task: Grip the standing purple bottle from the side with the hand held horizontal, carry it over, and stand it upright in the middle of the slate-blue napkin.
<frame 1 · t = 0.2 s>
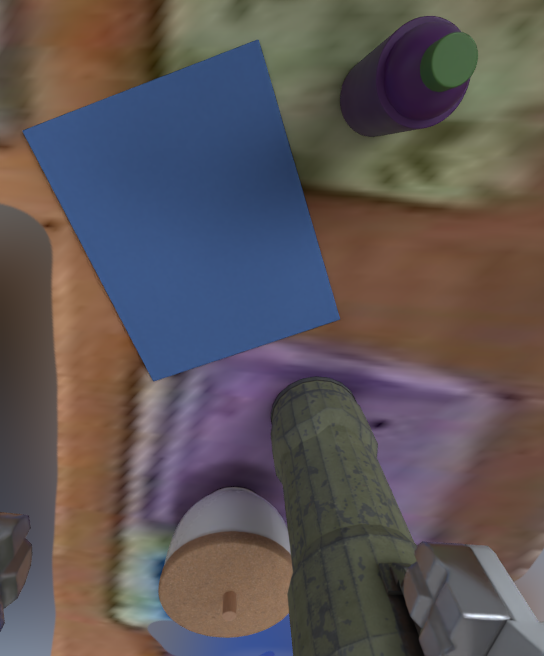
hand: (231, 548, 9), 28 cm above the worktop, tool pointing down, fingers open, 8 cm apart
thermos: (314, 412, 41), on the worktop
lidded bowl: (233, 510, 45), on the worktop
napkin: (198, 234, 33), on the worktop
purple bottle: (374, 97, 30), on the worktop
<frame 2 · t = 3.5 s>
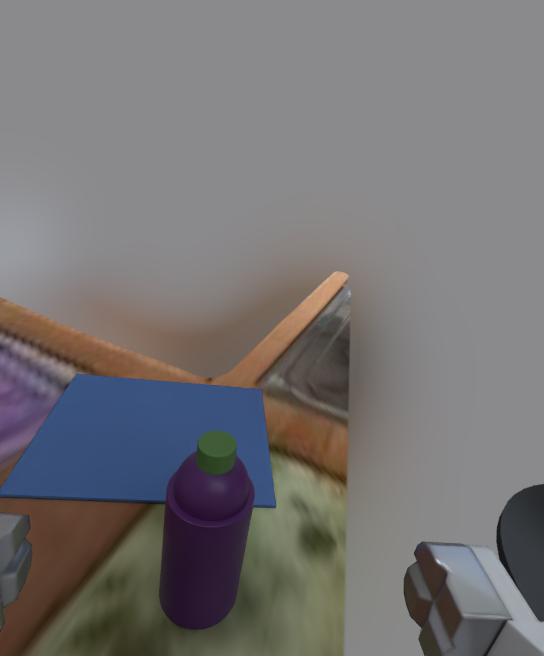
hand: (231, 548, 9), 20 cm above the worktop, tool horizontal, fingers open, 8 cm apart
napkin: (160, 431, 41), on the worktop
purple bottle: (198, 588, 28), on the worktop
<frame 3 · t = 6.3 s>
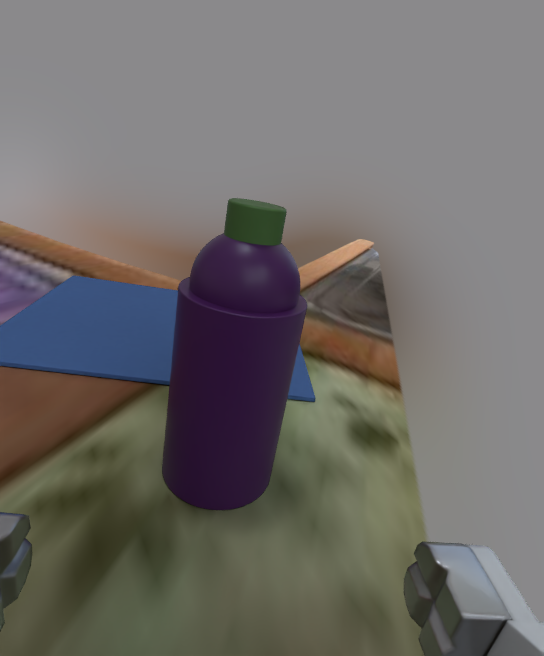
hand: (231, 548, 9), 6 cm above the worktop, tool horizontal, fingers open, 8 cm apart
napkin: (169, 327, 34), on the worktop
purple bottle: (217, 467, 20), on the worktop
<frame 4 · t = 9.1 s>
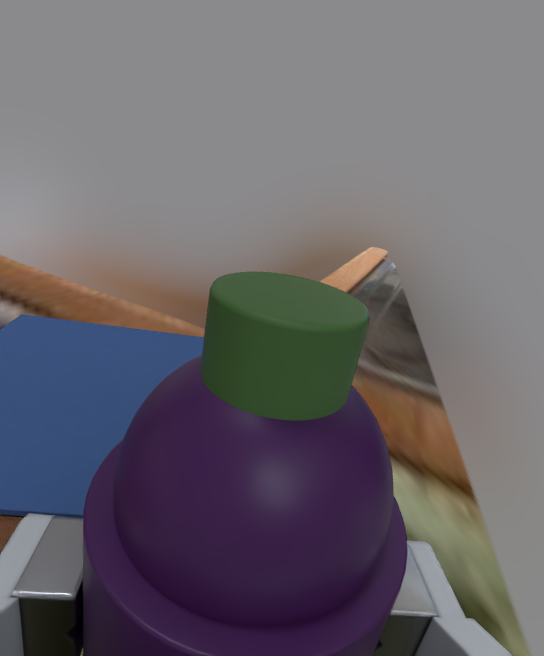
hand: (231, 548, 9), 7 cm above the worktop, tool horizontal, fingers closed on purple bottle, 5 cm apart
napkin: (141, 397, 24), on the worktop
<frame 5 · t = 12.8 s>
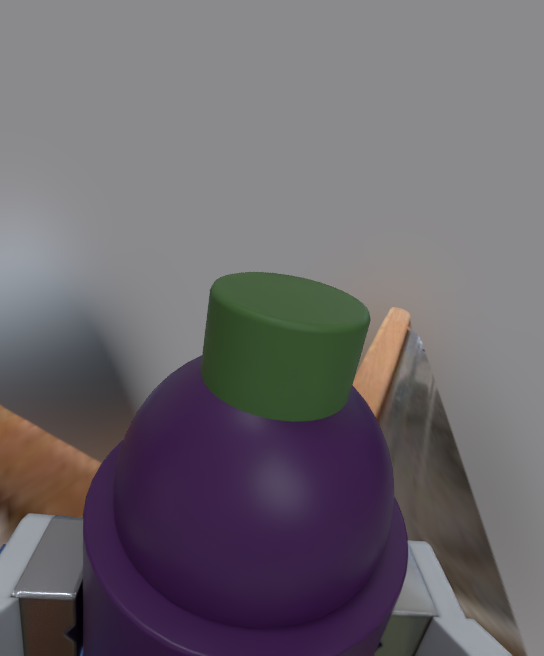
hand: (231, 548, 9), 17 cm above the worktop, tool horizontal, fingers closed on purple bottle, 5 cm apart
when the fingers open (7 cm above the worktop, at t = 16.7 s): purple bottle stays where it is, resting on napkin.
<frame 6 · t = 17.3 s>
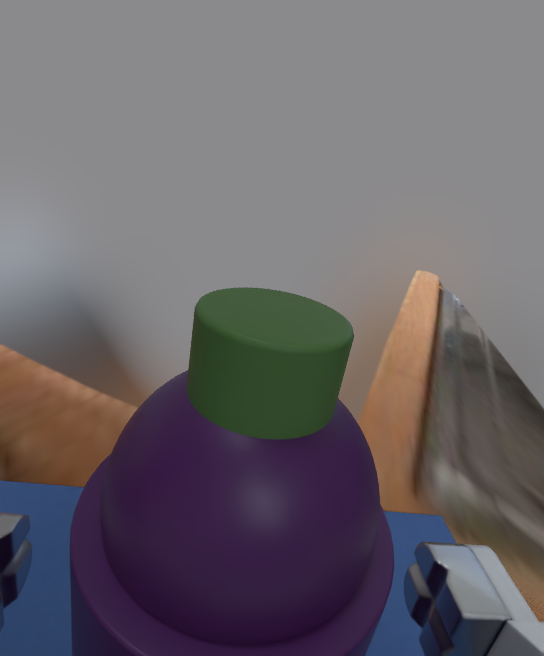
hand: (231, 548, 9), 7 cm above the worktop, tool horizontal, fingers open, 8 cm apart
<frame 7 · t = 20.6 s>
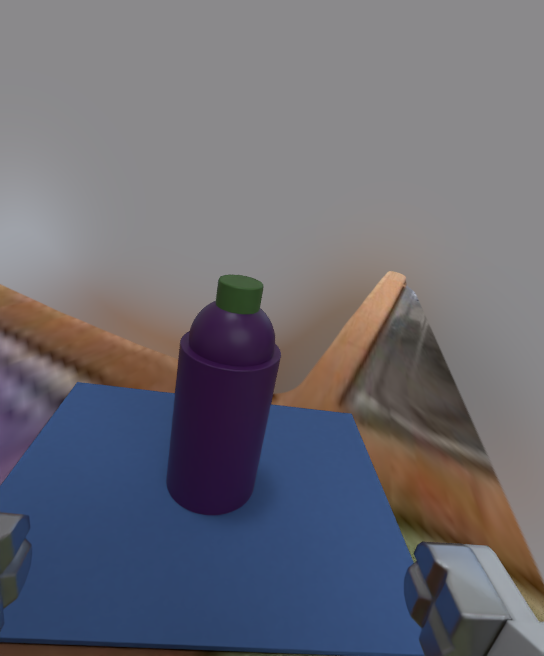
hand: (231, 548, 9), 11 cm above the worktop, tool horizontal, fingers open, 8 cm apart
napkin: (211, 484, 25), on the worktop
purple bottle: (210, 480, 24), resting on napkin
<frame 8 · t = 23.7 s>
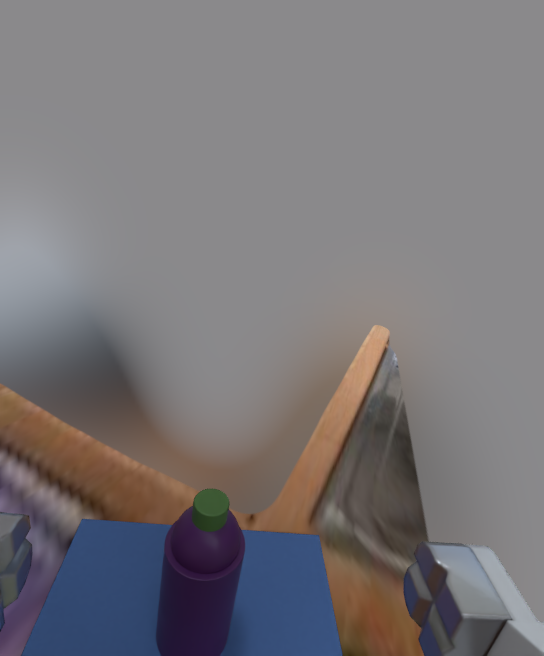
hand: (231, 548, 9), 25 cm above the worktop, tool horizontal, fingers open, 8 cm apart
napkin: (193, 632, 30), on the worktop
purple bottle: (192, 630, 30), resting on napkin
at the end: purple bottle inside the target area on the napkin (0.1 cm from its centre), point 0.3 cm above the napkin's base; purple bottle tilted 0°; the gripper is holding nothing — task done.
